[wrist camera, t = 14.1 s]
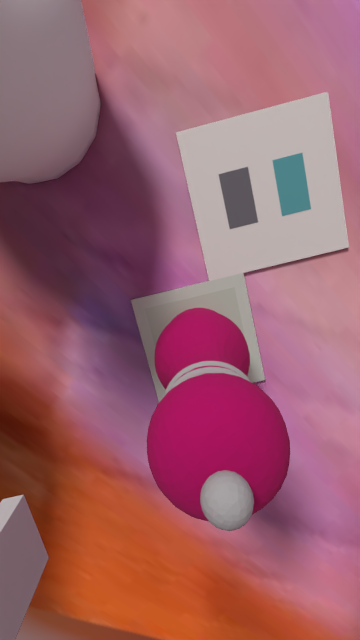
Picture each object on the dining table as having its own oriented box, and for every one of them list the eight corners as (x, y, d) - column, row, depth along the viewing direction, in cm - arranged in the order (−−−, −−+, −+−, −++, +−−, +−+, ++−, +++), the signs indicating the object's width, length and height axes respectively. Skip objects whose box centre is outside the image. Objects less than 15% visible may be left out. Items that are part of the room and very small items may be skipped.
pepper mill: (254, 352, 30) (390, 547, 10) (187, 394, 31) (197, 645, 11) (210, 285, 29) (271, 366, 9) (142, 331, 30) (65, 492, 10)
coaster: (159, 402, 31) (159, 403, 31) (131, 299, 29) (130, 300, 29) (264, 378, 31) (265, 379, 31) (243, 272, 29) (243, 273, 29)
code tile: (208, 280, 29) (209, 281, 29) (175, 133, 27) (175, 132, 26) (347, 247, 28) (349, 247, 28) (326, 93, 26) (328, 91, 26)
